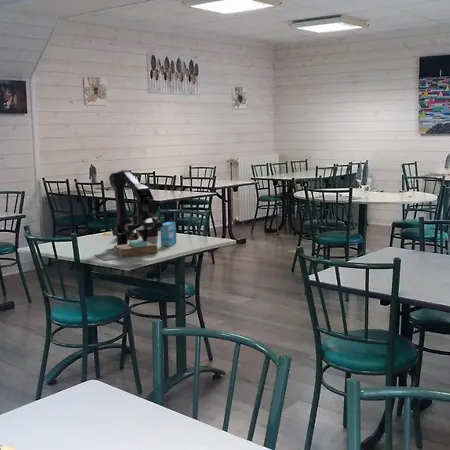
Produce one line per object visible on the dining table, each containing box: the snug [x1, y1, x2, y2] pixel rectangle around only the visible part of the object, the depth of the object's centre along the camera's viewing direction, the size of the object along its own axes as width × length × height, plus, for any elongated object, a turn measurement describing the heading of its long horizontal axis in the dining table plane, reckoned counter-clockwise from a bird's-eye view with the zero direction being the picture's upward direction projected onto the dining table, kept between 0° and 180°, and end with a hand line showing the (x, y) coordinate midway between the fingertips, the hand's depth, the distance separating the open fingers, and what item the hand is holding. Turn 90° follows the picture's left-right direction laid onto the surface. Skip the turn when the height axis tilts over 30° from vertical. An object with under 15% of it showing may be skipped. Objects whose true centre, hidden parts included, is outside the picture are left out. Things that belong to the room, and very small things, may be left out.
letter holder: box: [127, 217, 141, 241], centre depth 353 cm, size 10×20×14 cm, turn 2°
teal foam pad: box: [128, 239, 147, 247], centre depth 304 cm, size 9×6×2 cm, turn 29°
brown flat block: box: [113, 242, 159, 259], centre depth 304 cm, size 14×18×4 cm
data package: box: [159, 221, 177, 248], centre depth 324 cm, size 12×4×12 cm, turn 165°
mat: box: [94, 251, 125, 262], centre depth 298 cm, size 16×10×1 cm, turn 29°
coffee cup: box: [146, 215, 160, 245], centre depth 330 cm, size 10×10×15 cm
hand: (144, 242), depth 306 cm, fingers closed
